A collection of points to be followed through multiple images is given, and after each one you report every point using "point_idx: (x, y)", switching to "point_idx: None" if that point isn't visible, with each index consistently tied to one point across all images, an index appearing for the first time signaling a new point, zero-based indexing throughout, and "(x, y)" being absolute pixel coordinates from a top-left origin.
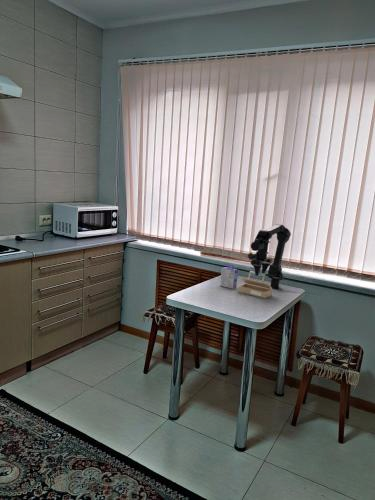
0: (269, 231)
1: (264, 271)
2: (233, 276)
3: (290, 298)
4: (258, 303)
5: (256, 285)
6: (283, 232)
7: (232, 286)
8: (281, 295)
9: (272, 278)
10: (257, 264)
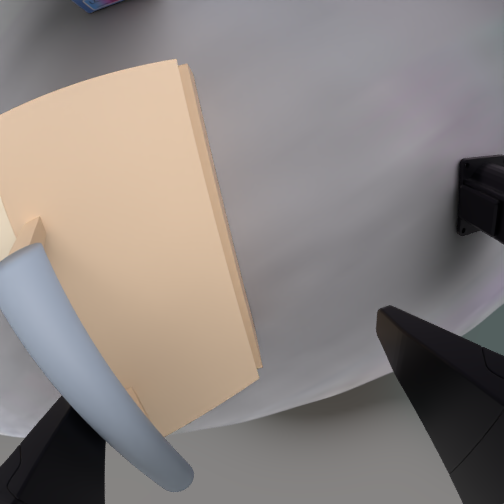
0: None
1: (402, 378)
2: None
3: (315, 394)
4: (43, 373)
5: (204, 233)
6: None
7: (79, 4)
8: (333, 345)
9: None
10: None
